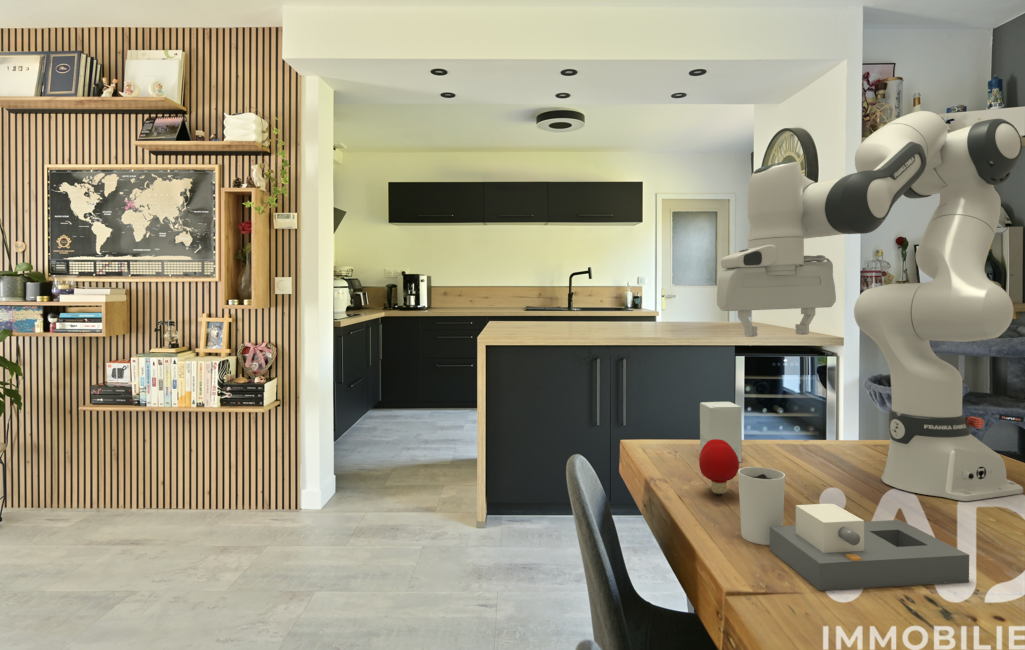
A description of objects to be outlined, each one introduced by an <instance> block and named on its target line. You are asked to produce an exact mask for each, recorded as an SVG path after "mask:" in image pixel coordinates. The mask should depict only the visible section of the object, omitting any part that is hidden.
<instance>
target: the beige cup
mask: <svg viewBox="0 0 1025 650" xmlns="http://www.w3.org/2000/svg"><path fill="white" fill-rule="evenodd" d="M737 476H738V494H739V495H738V496H739V514H740V515H739V516H740V517H739V518H740V530H741V531H740V533H741V534H740V535H741V537H742V538H743V539H744V540H746V541H748V542H751V543H753V544H756V545H763V546H765V545H766V546H770V527H771V526H784V514H785V513H784V507H785V492H786V491H785V487H786V474H785V473H784V471H783V472H782V471H780V470H778V469H773V468H770V467H763V466H747V467H742V468H739V469H738V472H737Z"/></svg>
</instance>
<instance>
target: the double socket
mask: <svg viewBox="0 0 1025 650" xmlns="http://www.w3.org/2000/svg"><path fill="white" fill-rule="evenodd" d="M769 551H770V552H772V553H773V554H774V555H775V556H777V558H779V559H780V560H781V561H782V562H784V564H786V565H787V566H789V567H790V568H791V569H792V570H794V571H795V572H796V573H797V574H798V575H800V576H801V577H802V578H804V579H805V580H806V581H807V582H808V583H810V585H812V586H813V587H814V588H815V589H816V590H818V591H836V590H837V591H839V590H841V591H842V590H853V589H858V590H859V589H868V588H869V589H871V588H888V587H902V586H903V587H905V586H906V587H907V586H921V585H922V586H923V585H939V584H954V583H969V582H970V554H968V553H967V552H964V551H962V550H961V549H958V548H956V547H954V546H952V545H951V544H948V543H947V542H945V541H943V540H941V539H939V538H937V537H934V536H933V535H931V534H929V533H927V532H924V531H923V530H921V529H918V528H917V527H915V526H913V525H910V524H909V523H907V522H905V521H903V520H902V519H895V520H894V519H893V520H875V521H874V520H872V521H869V520H868V521H864V551H850V552H832V553H823V552H822V551H820V550H819V549H817V548H816V547H815V546H813V545H812V544H810V543H809V542H808V541H806V540H805V539H803V538H802V537H800V536H799V535H798V534H796V524H795V525H794V524H791V525H783V526H771V527H770V545H769Z"/></svg>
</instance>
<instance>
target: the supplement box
mask: <svg viewBox="0 0 1025 650" xmlns="http://www.w3.org/2000/svg"><path fill="white" fill-rule="evenodd" d="M712 439H720V440H724V441H726V442H727V443H728V444H729V445H730V446H731V447H732V448H733V450H734V451H735V453H736V455H737V457H738V460H739V463H742V461H743V460H742V459H743V447H742V446H743V445H742V442H743V441H742V439H743V438H742V406H740V405H738V404H736V403H734V402H731V401H703V402H700V403H699V447H700V448H699V452H700V453H701V450H702V448H703V447H704V445H705V444H706V443H707V442H708V441H710V440H712ZM700 453H699V454H700Z"/></svg>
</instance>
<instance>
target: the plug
mask: <svg viewBox="0 0 1025 650" xmlns="http://www.w3.org/2000/svg"><path fill="white" fill-rule="evenodd" d="M864 522H865V520H864V519H862V518H860V517H858V516H856V515H854V514H853V513H851V512H850V511H847V510H846V509H843V508H842V507H840V506H839V505H836V504H835V503H833V502H832V503H814V504H796V505H795V525H796V534H798V535H799V536H800V537H802V538H803V539H805V540H806V541H808V542H809V543H810V544H812V545H813V546H815V547H816V548H817V549H819V550H820V551H822V552H823V553H832V552H850V551H864Z"/></svg>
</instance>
